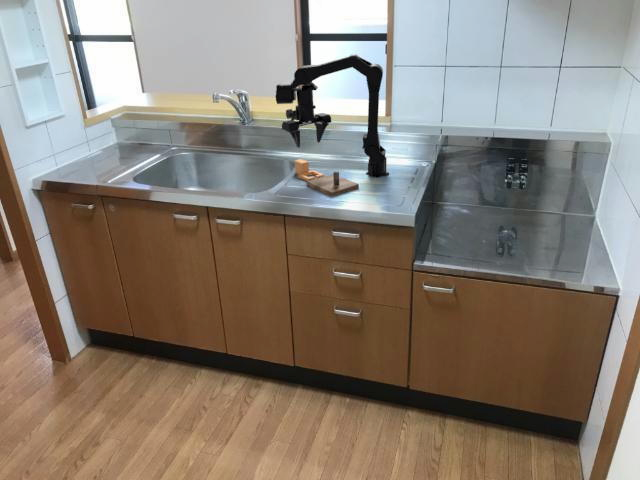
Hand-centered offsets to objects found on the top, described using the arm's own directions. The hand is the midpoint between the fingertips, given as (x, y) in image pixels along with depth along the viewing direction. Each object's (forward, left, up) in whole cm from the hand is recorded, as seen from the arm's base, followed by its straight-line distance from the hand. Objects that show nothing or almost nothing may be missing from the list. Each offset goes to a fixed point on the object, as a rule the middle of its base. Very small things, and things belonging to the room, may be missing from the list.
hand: (308, 144), depth 194 cm
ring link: (+2, +1, -12) cm, 12 cm away
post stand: (+2, +17, -12) cm, 21 cm away
